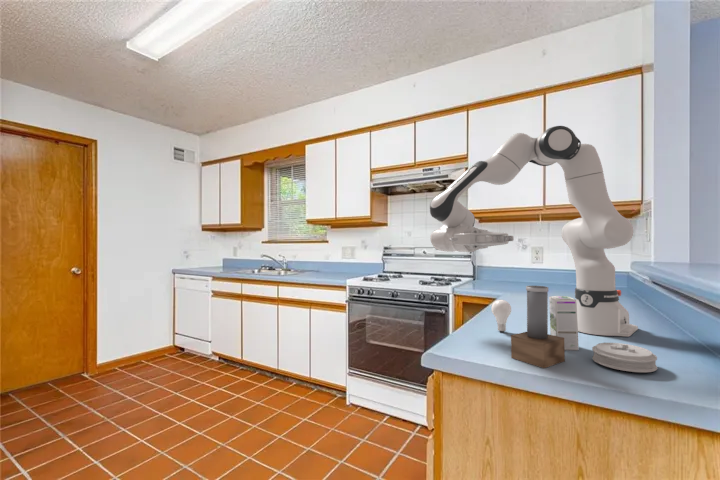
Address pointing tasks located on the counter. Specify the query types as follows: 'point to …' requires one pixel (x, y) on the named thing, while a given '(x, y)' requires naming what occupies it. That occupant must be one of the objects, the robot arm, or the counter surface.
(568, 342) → the syrup box
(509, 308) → the lightbulb
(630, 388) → the counter surface
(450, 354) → the counter surface
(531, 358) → the walnut stand
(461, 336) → the counter surface
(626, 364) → the lid
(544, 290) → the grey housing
